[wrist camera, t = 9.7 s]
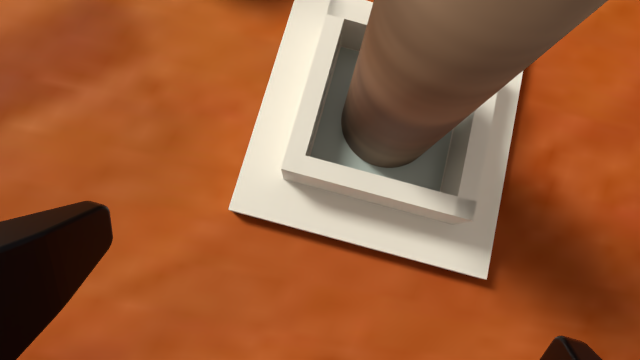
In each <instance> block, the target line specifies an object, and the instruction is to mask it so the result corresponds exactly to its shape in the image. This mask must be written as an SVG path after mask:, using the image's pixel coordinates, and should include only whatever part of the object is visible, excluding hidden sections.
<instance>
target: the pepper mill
mask: <svg viewBox="0 0 640 360" xmlns="http://www.w3.org/2000/svg"><path fill="white" fill-rule="evenodd" d="M606 1H608V0H374V2H373V5H372V9H371V13H370V16H369V20H368V23H367V27H366V30H365V34H364V37H363V41H362V44H361V48H360V51H359V55H358V58H357V62H356V65H355V69H354V72H353V76H352V80H351V83H350V87H349V90H348V94H347V97H346V101H345V104H344V108H343V112H342V117H341V126H342V132H343V135H344V138H345V140H346V142H347V144H348V146H349V147H350V148H351V150H352V151H353V152H354V153H355V154H356V155H357V156H358V157H359V158H361V159H362V160H364V161H365V162H367V163H369V164H372V165H374V166H378V167H384V168H395V167H401V166H404V165H407V164H409V163H411V162H413V161H414V160H416V159H417V158H418V157H420V156H421V155H422V154H423V153H424V152H426V151H427V150H428V149H429V148H430V147H432V146H433V145H434V144H435V143H437V142H438V141H439V140H440V139H441V138H443V137H444V136H445V135H446V134H447V133H449V132H450V131H451V130H452V129H453V128H455V127H456V126H457V125H458V124H459V123H461V122H462V121H463V120H464V119H465V118H467V117H468V116H469V115H470V114H471V113H473V112H474V111H475V110H476V109H477V108H479V107H480V106H481V105H482V104H483V103H485V102H486V101H487V100H488V99H490V98H491V97H492V96H493V95H494V94H496V93H497V92H498V91H499V90H500V89H502V88H503V87H504V86H505V85H506V84H508V83H509V82H510V81H511V80H512V79H514V78H515V77H516V76H517V75H518V74H520V73H521V72H522V71H523V70H524V69H526V68H527V67H528V66H529V65H530V64H532V63H533V62H534V61H535V60H537V59H538V58H539V57H540V56H541V55H543V54H544V53H545V52H546V51H547V50H549V49H550V48H551V47H552V46H553V45H555V44H556V43H557V42H558V41H559V40H561V39H562V38H563V37H564V36H565V35H567V34H568V33H569V32H570V31H571V30H573V29H574V28H575V27H576V26H577V25H579V24H580V23H581V22H582V21H583V20H585V19H586V18H587V17H588V16H590V15H591V14H592V13H593V12H594V11H596V10H597V9H598V8H599V7H600V6H602V5H603V4H604V3H605V2H606Z"/></svg>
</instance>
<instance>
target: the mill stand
mask: <svg viewBox="0 0 640 360" xmlns="http://www.w3.org/2000/svg"><path fill="white" fill-rule="evenodd" d="M372 5H373V2H369V1H366V0H294V3H293V6H292V10H291V13H290V16H289V19H288V22H287V25H286V29H285V32H284V35H283V38H282V41H281V44H280V48H279V51H278V54H277V57H276V60H275V63H274V67H273V70H272V73H271V76H270V79H269V82H268V86H267V89H266V92H265V95H264V98H263V101H262V105H261V108H260V111H259V114H258V117H257V120H256V124H255V127H254V130H253V133H252V136H251V139H250V143H249V146H248V149H247V152H246V155H245V158H244V162H243V165H242V168H241V171H240V174H239V177H238V181H237V184H236V187H235V190H234V193H233V196H232V200H231V203H230V206H229V209H228V210H230V211H232V212H236V213H240V214H243V215H247V216H251V217H254V218H258V219H262V220H265V221H269V222H273V223H277V224H280V225H284V226H288V227H291V228H295V229H299V230H302V231H306V232H310V233H313V234H317V235H321V236H324V237H328V238H332V239H335V240H339V241H343V242H346V243H350V244H354V245H357V246H361V247H365V248H368V249H372V250H376V251H379V252H383V253H387V254H391V255H394V256H398V257H402V258H405V259H409V260H413V261H416V262H420V263H424V264H427V265H431V266H435V267H438V268H442V269H446V270H449V271H453V272H457V273H460V274H464V275H468V276H471V277H475V278H479V279H485V280H487V275H488V269H489V264H490V258H491V252H492V247H493V241H494V235H495V229H496V224H497V218H498V212H499V206H500V201H501V195H502V189H503V184H504V178H505V172H506V166H507V161H508V155H509V149H510V144H511V138H512V132H513V126H514V121H515V115H516V109H517V104H518V98H519V92H520V86H521V81H522V75H523V71H522V72H521V73H520V74H518V75H517V76H516V77H515V78H514V79H512V80H511V81H510V82H509V83H508V84H506V85H505V86H504V87H503V88H502V89H500V90H499V91H498V92H497V93H496V94H494V95H493V96H492V97H491V98H490V99H488V100H487V101H486V102H485V103H483V104H482V105H481V106H480V107H479V108H477V109H476V110H475V111H474V112H473V113H471V114H470V115H469V116H468V117H467V118H465V119H464V120H463V121H462V122H461V123H459V124H458V125H457V126H456V127H455V128H453V129H452V130H451V131H450V132H449V133H447V134H446V135H445V136H444V137H443V138H441V139H440V140H439V141H438V142H437V143H435V144H434V145H433V146H432V147H430V148H429V149H428V150H427V151H426V152H424V153H423V154H422V155H421V156H420V157H418V158H417V159H416V160H414V161H413V162H411V163H409V164H407V165H404V166H401V167H395V168H384V167H378V166H374V165H372V164H369V163H367V162H365V161H364V160H362V159H361V158H359V157H358V156H357V155H356V154H355V153H354V152H353V151H352V150H351V148H350V147H349V146H348V144H347V142H346V140H345V138H344V135H343V132H342V126H341V117H342V112H343V108H344V104H345V101H346V97H347V94H348V90H349V87H350V83H351V80H352V76H353V72H354V69H355V65H356V62H357V58H358V55H359V51H360V48H361V44H362V41H363V37H364V34H365V30H366V27H367V23H368V20H369V16H370V13H371V9H372Z"/></svg>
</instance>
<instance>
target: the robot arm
mask: <svg viewBox="0 0 640 360" xmlns="http://www.w3.org/2000/svg"><path fill="white" fill-rule="evenodd" d="M112 239H113V234H112V226H111V218H110V211H109V209H108V208H107V206H105V205H103V204H99V203H96V202H92V201H83V202H79V203H75V204H71V205H67V206H63V207H59V208H55V209H51V210H47V211H42V212H38V213H34V214H30V215H26V216H22V217H18V218H14V219H10V220H6V221H2V222H0V360H16V359H17V358H18V357H19V356H20V355H21V354H22V353H23V352H24V350H25V349H26V348H27V347H28V346H29V345H30V344H31V343H32V342H33V341H34V340H35V339H36V337H37V336H38V335H39V334H40V333H41V332H42V331H43V330H44V329H45V328H46V327H47V325H48V324H49V323H50V322H51V321H52V320H53V319H54V318H55V317H56V316H57V314H58V313H59V312H60V311H61V310H62V309H63V308H64V306H65V305H66V304H67V303H68V301H69V300H70V299H71V298H72V296H73V295H74V294H75V292H76V291H77V290H78V288H79V287H80V286H81V284H82V283H83V282H84V281H85V279H86V278H87V277H88V275H89V274H90V273H91V271H92V270H93V269H94V267H95V266H96V265H97V264H98V262H99V261H100V260H101V258H102V257H103V256H104V254H105V253H106V252H107V250H108V249H109V247H110V246H111V243H112ZM540 360H602V359H601V358H600V357H599V356H598V355H597V354H596V353H595V352H594V351H593V350H592V349H591V348H590V347H589V346H588V345H587V344H586V343H584V342H582V341H579V340H576V339H572V338H569V337H565V336H558V337H556V338H555V339H554V340H553V341H552V343H551V344H550V345H549V347H548V348H547V350H546V351H545V353H544V354H543V356H542V357H541V359H540Z"/></svg>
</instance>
